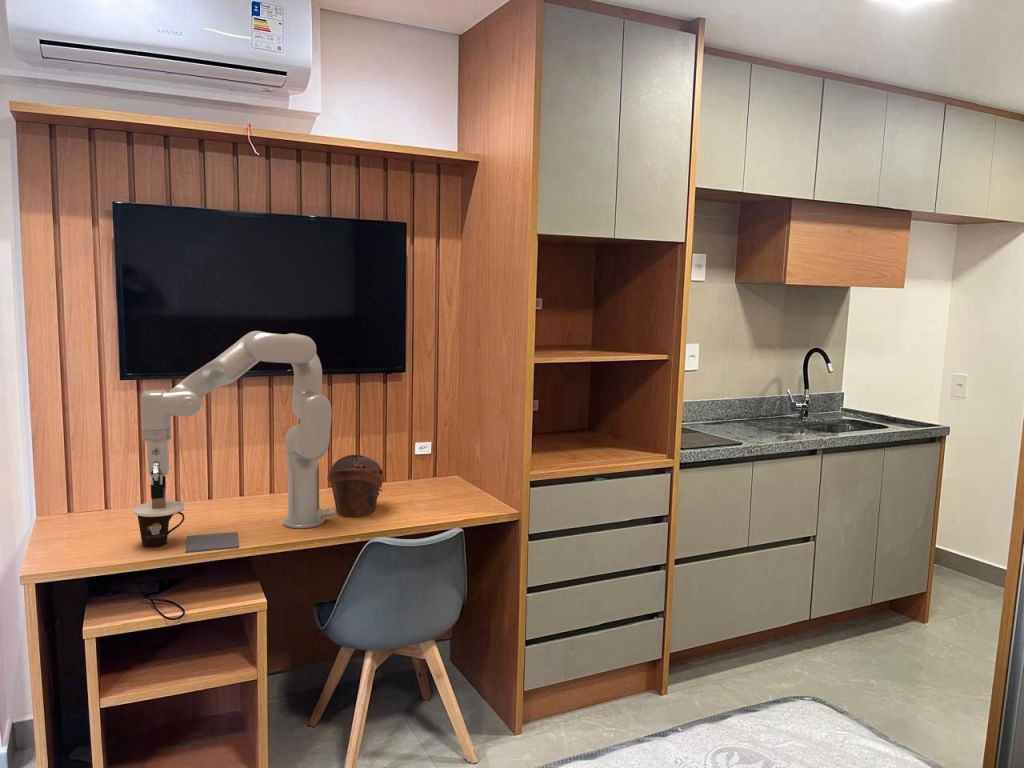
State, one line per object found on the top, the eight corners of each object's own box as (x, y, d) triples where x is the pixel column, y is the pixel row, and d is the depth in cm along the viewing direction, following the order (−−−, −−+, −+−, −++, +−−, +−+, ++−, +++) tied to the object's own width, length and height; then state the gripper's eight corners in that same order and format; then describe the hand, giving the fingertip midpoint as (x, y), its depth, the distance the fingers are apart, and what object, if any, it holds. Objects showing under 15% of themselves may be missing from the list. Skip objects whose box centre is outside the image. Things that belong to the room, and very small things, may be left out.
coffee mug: (133, 549, 217) (131, 514, 216) (145, 539, 225) (144, 505, 224) (175, 549, 218) (174, 514, 216) (186, 539, 226) (185, 506, 225)
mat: (237, 533, 233) (237, 531, 233) (238, 547, 220) (238, 546, 220) (187, 537, 228) (187, 535, 228) (185, 552, 215) (185, 551, 215)
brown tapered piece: (356, 523, 245) (356, 467, 243) (315, 512, 257) (315, 459, 255) (396, 512, 259) (397, 460, 258) (356, 502, 271) (356, 451, 270)
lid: (184, 502, 229) (184, 482, 228) (183, 514, 217) (183, 493, 216) (136, 506, 224) (135, 485, 223) (132, 518, 212) (131, 497, 211)
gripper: (169, 439, 211) (171, 500, 213) (172, 428, 227) (174, 485, 229) (139, 440, 208) (141, 502, 210) (144, 429, 224) (146, 487, 226)
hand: (158, 493), depth 220 cm, fingers open, 9 cm apart
